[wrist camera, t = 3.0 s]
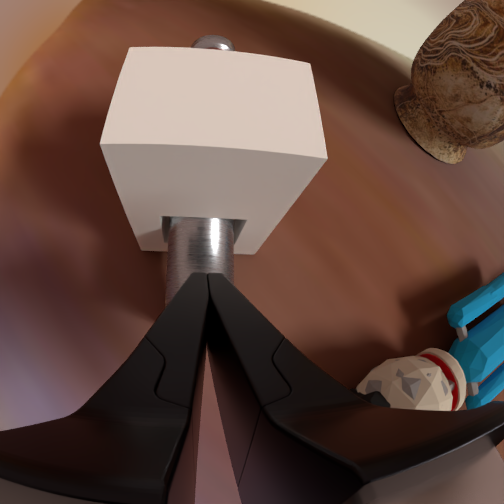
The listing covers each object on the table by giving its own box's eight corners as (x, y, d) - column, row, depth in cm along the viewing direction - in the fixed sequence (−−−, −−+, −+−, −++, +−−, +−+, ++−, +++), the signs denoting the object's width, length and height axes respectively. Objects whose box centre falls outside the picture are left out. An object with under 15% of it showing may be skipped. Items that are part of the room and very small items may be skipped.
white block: (254, 254, 18) (327, 158, 8) (141, 250, 16) (99, 144, 7) (252, 187, 19) (310, 63, 10) (148, 182, 17) (129, 47, 8)
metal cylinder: (226, 330, 16) (242, 324, 12) (167, 329, 16) (160, 323, 11) (228, 89, 21) (240, 37, 16) (185, 86, 20) (190, 33, 16)
